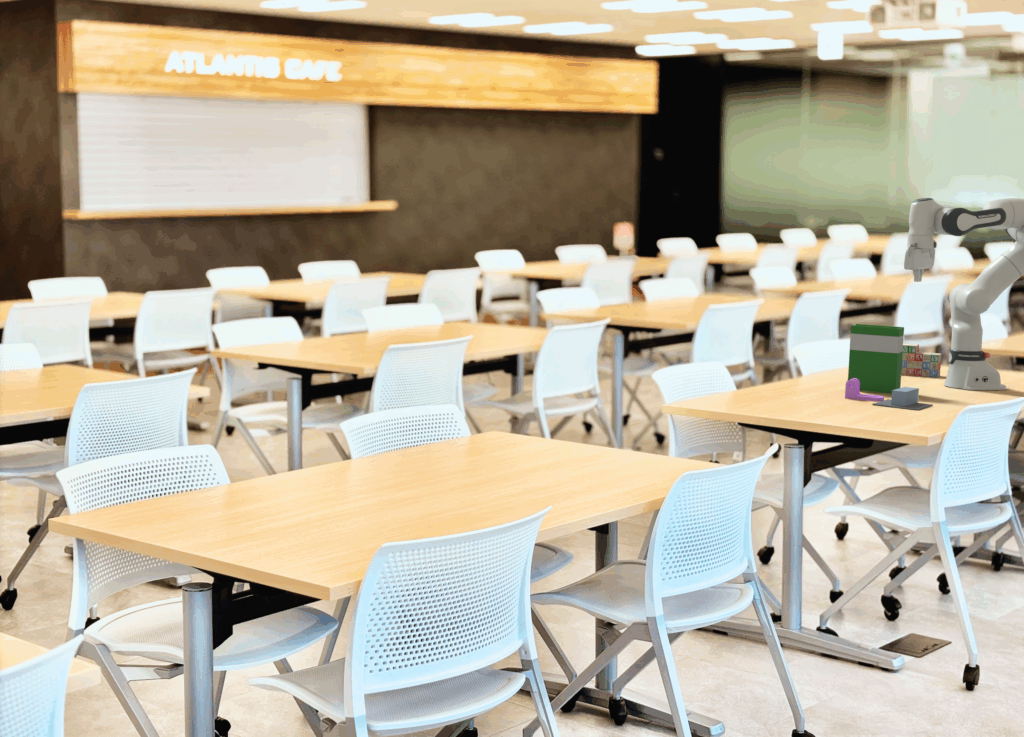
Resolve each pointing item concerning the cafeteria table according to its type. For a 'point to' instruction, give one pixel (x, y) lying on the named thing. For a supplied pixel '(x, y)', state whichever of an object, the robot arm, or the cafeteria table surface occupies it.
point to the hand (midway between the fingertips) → (917, 281)
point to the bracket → (853, 392)
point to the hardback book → (876, 357)
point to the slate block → (905, 396)
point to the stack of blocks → (920, 362)
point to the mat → (912, 407)
